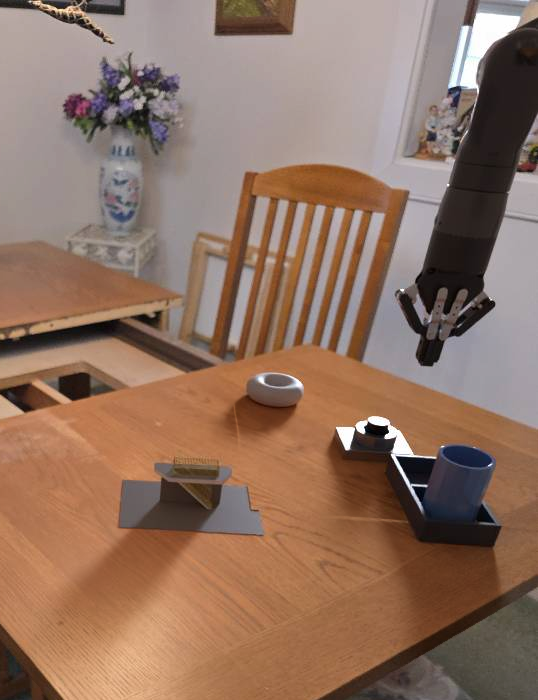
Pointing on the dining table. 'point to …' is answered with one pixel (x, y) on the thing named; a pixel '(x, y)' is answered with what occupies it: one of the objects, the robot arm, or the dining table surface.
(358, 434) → the control block
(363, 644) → the dining table surface
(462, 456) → the cup
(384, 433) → the button
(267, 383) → the donut
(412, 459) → the black divided tray
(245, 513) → the platform
